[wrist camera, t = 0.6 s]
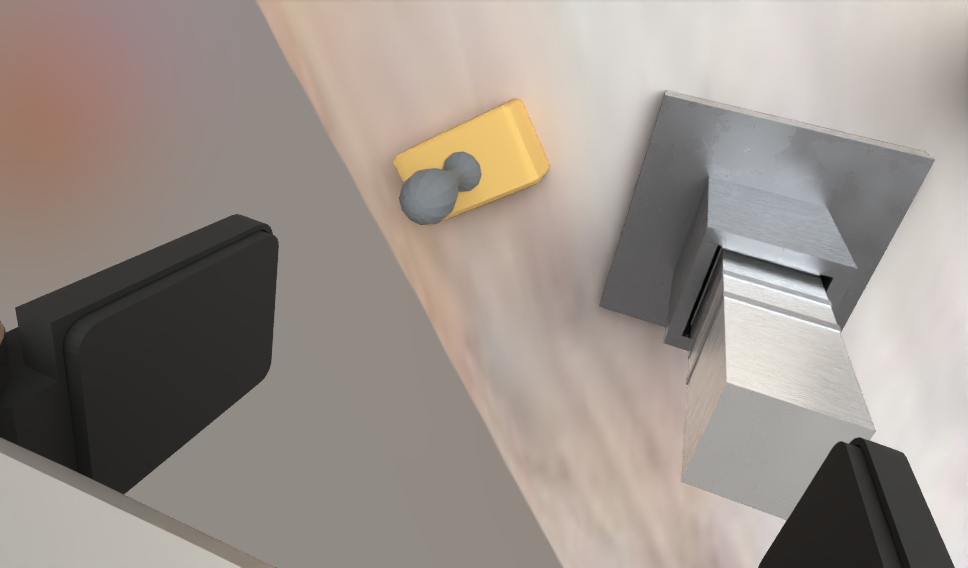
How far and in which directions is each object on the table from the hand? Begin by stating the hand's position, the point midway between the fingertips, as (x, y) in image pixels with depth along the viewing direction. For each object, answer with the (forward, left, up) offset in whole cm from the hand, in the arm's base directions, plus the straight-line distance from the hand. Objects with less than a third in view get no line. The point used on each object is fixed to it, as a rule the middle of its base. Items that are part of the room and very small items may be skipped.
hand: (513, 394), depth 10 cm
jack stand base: (+8, +8, -36) cm, 38 cm away
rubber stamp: (+8, -12, -37) cm, 39 cm away
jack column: (+8, +8, -34) cm, 36 cm away
